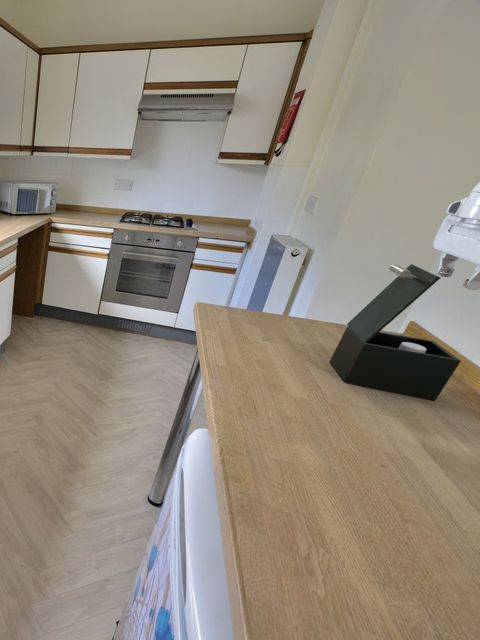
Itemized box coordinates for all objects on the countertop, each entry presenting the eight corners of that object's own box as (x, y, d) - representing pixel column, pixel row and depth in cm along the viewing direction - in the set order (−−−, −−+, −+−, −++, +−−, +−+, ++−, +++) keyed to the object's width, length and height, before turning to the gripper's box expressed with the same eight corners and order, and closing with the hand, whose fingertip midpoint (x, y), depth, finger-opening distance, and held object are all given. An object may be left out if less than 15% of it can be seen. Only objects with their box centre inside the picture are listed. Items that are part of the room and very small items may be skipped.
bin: (410, 378, 95) (433, 340, 91) (434, 401, 86) (461, 360, 82) (328, 362, 101) (347, 326, 96) (344, 382, 92) (364, 343, 88)
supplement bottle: (415, 384, 91) (436, 351, 87) (394, 383, 91) (414, 350, 87) (395, 373, 95) (414, 341, 91) (375, 372, 95) (393, 340, 91)
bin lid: (414, 265, 87) (392, 255, 88) (441, 277, 79) (417, 266, 79) (348, 325, 96) (330, 316, 97) (366, 342, 87) (346, 332, 88)
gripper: (566, 220, 66) (513, 300, 72) (485, 206, 83) (448, 272, 89) (512, 216, 68) (465, 294, 74) (444, 203, 85) (410, 267, 91)
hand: (455, 282), depth 82 cm, fingers open, 8 cm apart
